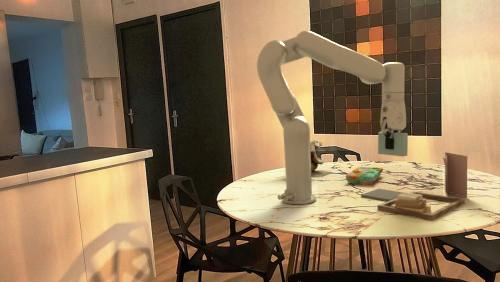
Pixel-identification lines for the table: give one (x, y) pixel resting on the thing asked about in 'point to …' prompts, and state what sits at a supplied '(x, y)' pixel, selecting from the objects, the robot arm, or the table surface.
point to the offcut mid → (411, 204)
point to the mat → (382, 194)
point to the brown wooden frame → (432, 216)
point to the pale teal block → (399, 144)
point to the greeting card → (456, 174)
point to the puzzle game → (364, 175)
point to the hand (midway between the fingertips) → (392, 148)
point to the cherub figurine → (316, 160)
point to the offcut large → (423, 210)
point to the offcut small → (409, 197)
